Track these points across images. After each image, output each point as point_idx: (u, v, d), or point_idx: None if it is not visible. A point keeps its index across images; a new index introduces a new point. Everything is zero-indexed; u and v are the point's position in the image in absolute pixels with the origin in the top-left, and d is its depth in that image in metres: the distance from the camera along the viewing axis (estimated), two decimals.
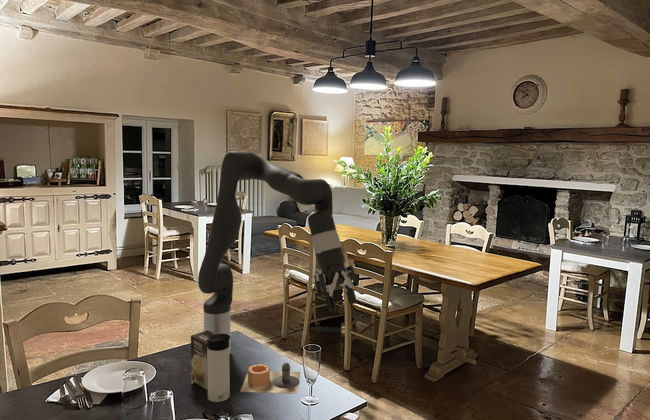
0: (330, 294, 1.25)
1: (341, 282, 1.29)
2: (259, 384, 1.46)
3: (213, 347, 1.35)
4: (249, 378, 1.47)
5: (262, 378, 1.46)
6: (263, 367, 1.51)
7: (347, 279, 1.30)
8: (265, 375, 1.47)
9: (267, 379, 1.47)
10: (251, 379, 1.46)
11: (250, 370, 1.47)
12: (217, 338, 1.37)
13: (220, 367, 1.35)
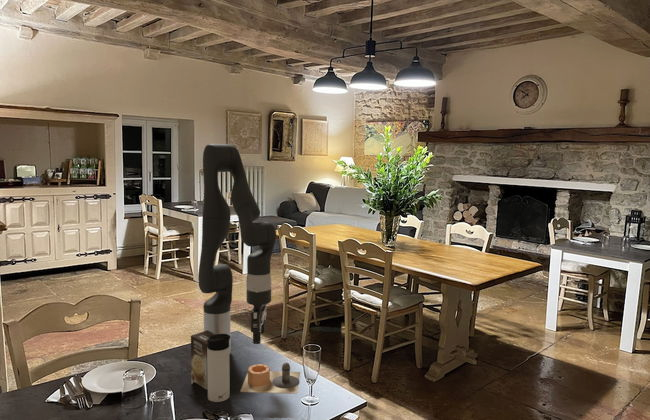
0: (260, 330, 1.42)
1: None
2: (259, 384, 1.46)
3: (213, 347, 1.35)
4: (249, 378, 1.47)
5: (262, 378, 1.46)
6: (263, 367, 1.51)
7: (265, 313, 1.49)
8: (265, 375, 1.47)
9: (267, 379, 1.47)
10: (251, 379, 1.46)
11: (250, 370, 1.47)
12: (217, 338, 1.37)
13: (220, 367, 1.35)
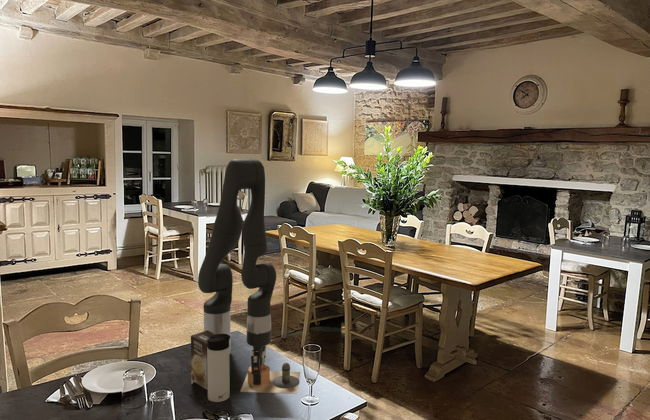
0: (260, 372, 1.44)
1: None
2: None
3: (213, 347, 1.35)
4: (249, 378, 1.47)
5: (262, 378, 1.46)
6: (263, 367, 1.51)
7: (265, 354, 1.50)
8: (265, 375, 1.47)
9: (267, 379, 1.47)
10: (251, 379, 1.46)
11: (250, 370, 1.47)
12: (217, 338, 1.37)
13: (220, 367, 1.35)
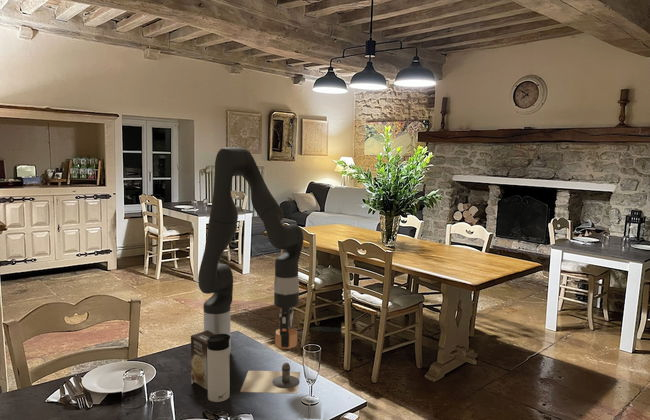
0: (289, 333, 1.43)
1: None
2: None
3: (213, 347, 1.35)
4: (277, 341, 1.45)
5: (290, 340, 1.44)
6: (290, 330, 1.49)
7: (292, 317, 1.49)
8: (293, 337, 1.45)
9: (295, 342, 1.46)
10: (279, 341, 1.45)
11: (278, 333, 1.46)
12: (217, 338, 1.37)
13: (220, 367, 1.35)
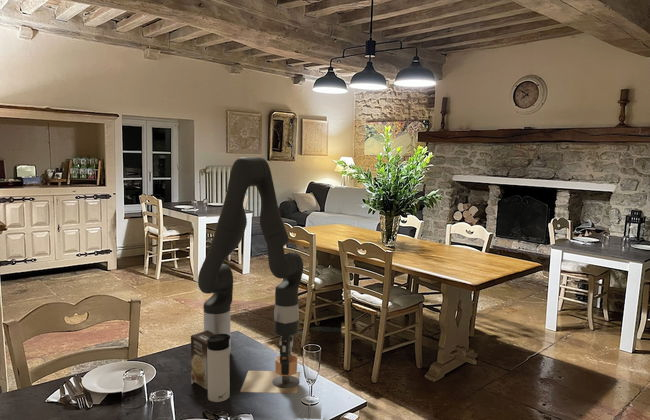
0: (289, 361, 1.44)
1: None
2: None
3: (213, 347, 1.35)
4: (277, 368, 1.46)
5: (290, 368, 1.45)
6: (290, 357, 1.50)
7: (292, 344, 1.50)
8: (293, 365, 1.46)
9: (295, 369, 1.47)
10: (279, 369, 1.46)
11: (278, 360, 1.47)
12: (217, 338, 1.37)
13: (219, 367, 1.35)
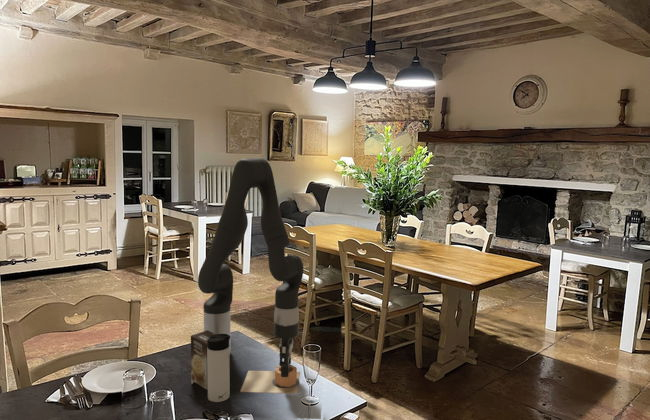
0: (288, 363, 1.43)
1: None
2: (287, 384, 1.46)
3: (213, 347, 1.35)
4: (277, 378, 1.47)
5: (290, 378, 1.46)
6: (290, 367, 1.50)
7: (292, 345, 1.50)
8: (293, 375, 1.46)
9: (294, 379, 1.47)
10: (279, 379, 1.46)
11: (277, 370, 1.47)
12: (217, 338, 1.37)
13: (220, 367, 1.35)
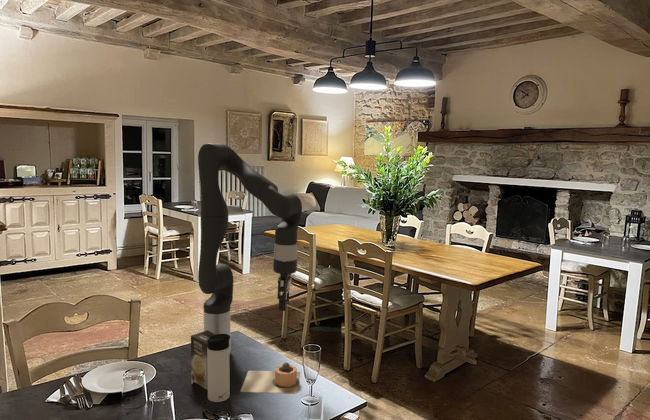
0: (286, 297, 1.49)
1: None
2: (287, 384, 1.46)
3: (213, 347, 1.35)
4: (277, 378, 1.47)
5: (290, 378, 1.46)
6: (290, 367, 1.50)
7: (290, 283, 1.56)
8: (293, 375, 1.46)
9: (294, 379, 1.47)
10: (279, 379, 1.46)
11: (277, 370, 1.47)
12: (217, 338, 1.37)
13: (220, 367, 1.35)
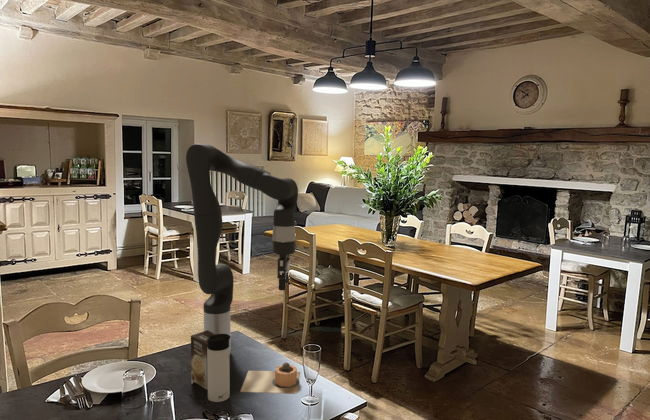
0: (285, 277, 1.54)
1: None
2: (287, 384, 1.46)
3: (213, 347, 1.35)
4: (277, 378, 1.47)
5: (290, 378, 1.46)
6: (290, 367, 1.50)
7: (289, 264, 1.61)
8: (293, 375, 1.46)
9: (294, 379, 1.47)
10: (279, 379, 1.46)
11: (277, 370, 1.47)
12: (217, 338, 1.37)
13: (220, 367, 1.35)
